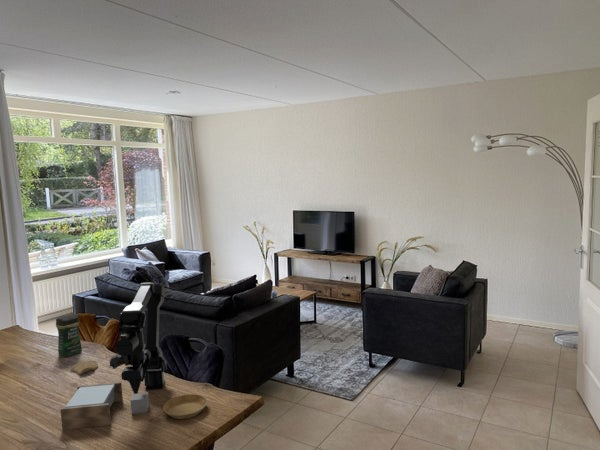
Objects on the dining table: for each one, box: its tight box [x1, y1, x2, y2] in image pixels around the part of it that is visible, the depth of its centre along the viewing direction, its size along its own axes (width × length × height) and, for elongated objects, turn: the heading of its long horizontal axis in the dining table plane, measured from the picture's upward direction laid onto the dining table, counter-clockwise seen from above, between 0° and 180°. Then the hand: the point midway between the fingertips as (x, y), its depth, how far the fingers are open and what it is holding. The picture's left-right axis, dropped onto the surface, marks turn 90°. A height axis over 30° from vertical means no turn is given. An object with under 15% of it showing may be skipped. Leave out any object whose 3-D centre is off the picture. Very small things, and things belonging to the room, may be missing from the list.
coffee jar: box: [55, 313, 83, 358], centre depth 217 cm, size 10×8×19 cm
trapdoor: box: [64, 384, 115, 408], centre depth 161 cm, size 12×14×5 cm
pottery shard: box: [70, 360, 99, 376], centre depth 199 cm, size 11×4×10 cm
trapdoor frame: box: [60, 381, 124, 431], centre depth 161 cm, size 15×17×7 cm
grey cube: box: [130, 391, 150, 415], centre depth 163 cm, size 5×5×5 cm
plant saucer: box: [162, 393, 208, 420], centre depth 161 cm, size 15×15×3 cm
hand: (138, 387), depth 163 cm, fingers open, 9 cm apart
